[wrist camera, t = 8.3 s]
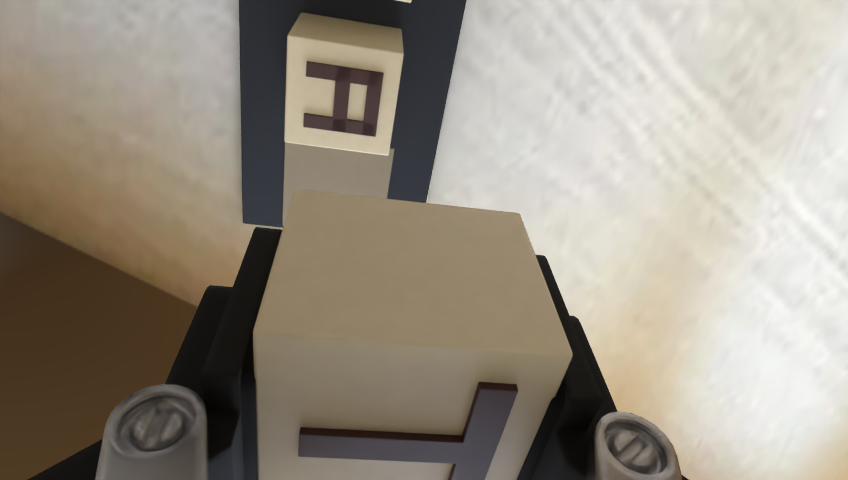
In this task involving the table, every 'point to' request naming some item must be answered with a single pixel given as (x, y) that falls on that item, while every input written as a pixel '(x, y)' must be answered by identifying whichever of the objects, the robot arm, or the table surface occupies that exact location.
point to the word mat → (326, 167)
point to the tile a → (342, 83)
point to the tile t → (402, 343)
